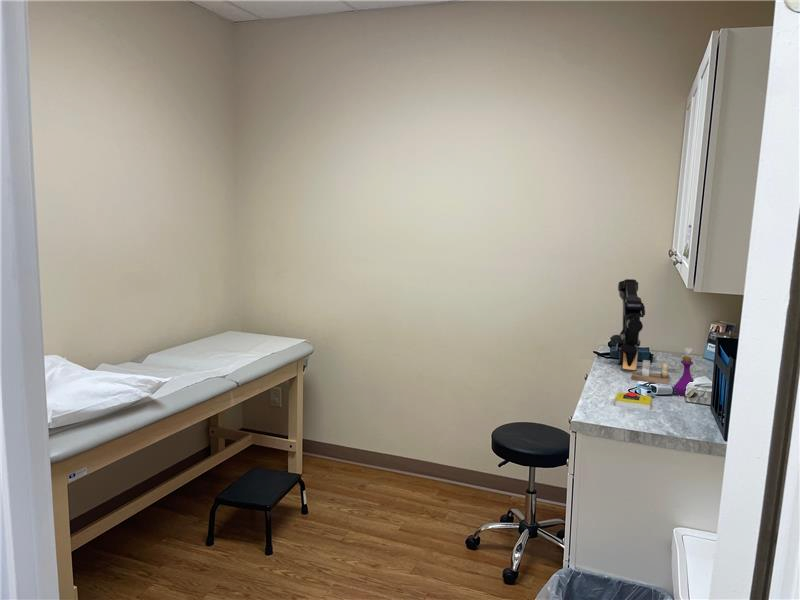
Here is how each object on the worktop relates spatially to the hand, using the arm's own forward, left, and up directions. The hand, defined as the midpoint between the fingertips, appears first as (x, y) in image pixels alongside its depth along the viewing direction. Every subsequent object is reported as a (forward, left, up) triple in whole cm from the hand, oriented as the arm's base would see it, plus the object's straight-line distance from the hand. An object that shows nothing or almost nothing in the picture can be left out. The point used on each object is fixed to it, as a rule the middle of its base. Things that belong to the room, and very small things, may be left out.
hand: (629, 364), depth 247 cm
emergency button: (+51, +6, -4) cm, 51 cm away
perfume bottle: (+29, +22, -4) cm, 36 cm away
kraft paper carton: (0, 0, -2) cm, 2 cm away
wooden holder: (+9, +9, -3) cm, 13 cm away
